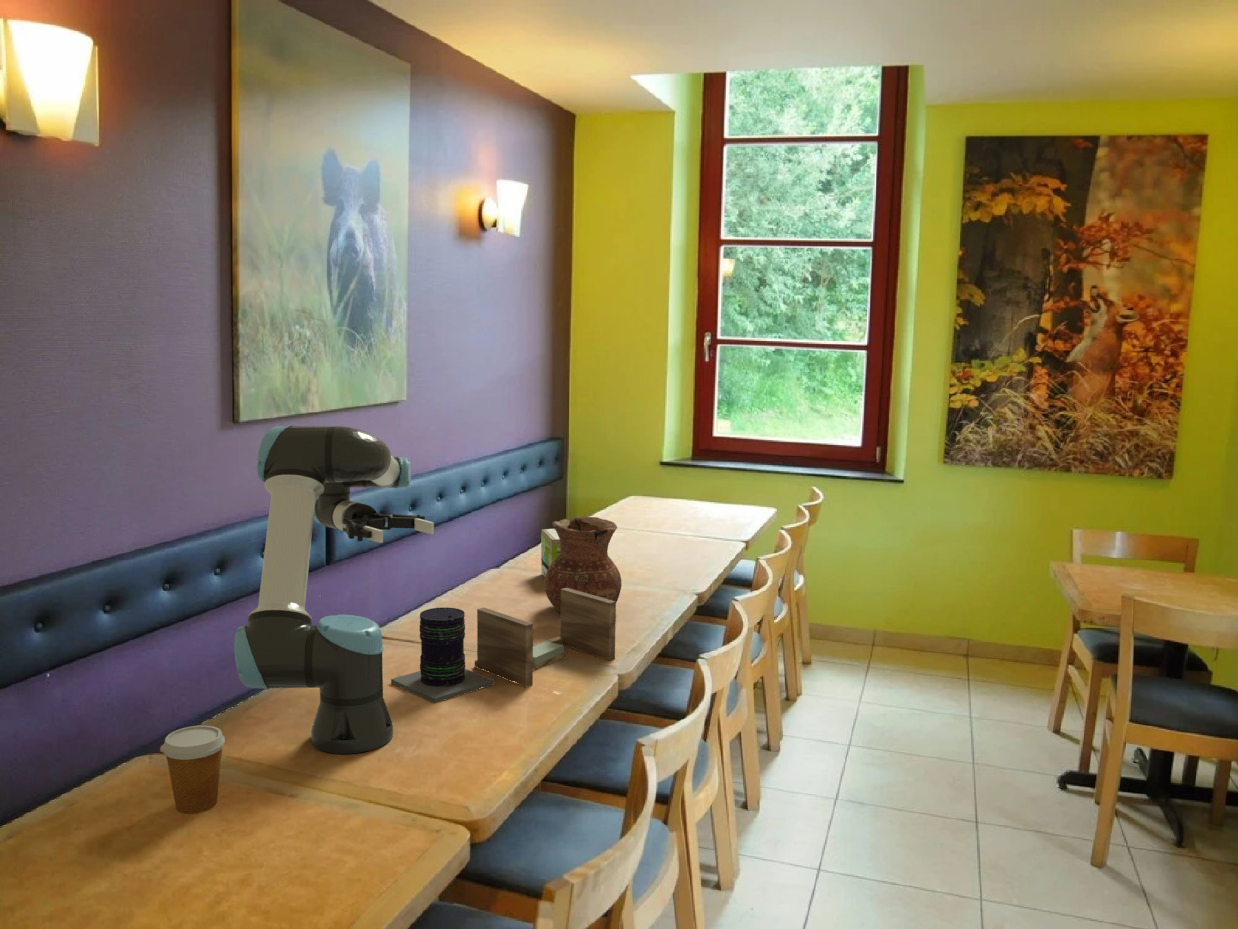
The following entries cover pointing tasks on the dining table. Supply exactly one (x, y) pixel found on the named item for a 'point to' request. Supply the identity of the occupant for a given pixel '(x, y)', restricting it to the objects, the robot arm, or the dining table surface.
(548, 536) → the tea box
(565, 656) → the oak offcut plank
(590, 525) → the jug
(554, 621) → the dining table surface
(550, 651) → the grey offcut plank
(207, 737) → the disposable coffee cup
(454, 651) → the dark blue cylinder
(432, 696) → the charcoal mat
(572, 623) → the wooden bookend pair
